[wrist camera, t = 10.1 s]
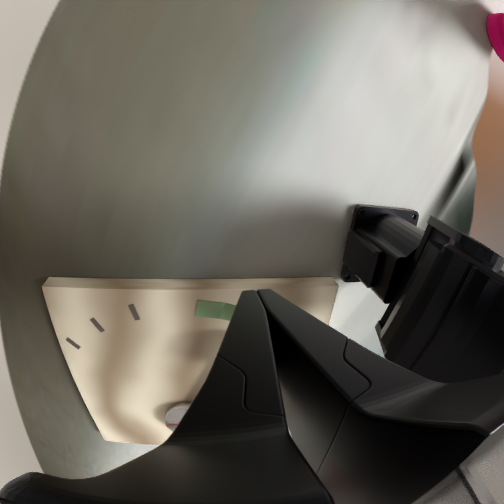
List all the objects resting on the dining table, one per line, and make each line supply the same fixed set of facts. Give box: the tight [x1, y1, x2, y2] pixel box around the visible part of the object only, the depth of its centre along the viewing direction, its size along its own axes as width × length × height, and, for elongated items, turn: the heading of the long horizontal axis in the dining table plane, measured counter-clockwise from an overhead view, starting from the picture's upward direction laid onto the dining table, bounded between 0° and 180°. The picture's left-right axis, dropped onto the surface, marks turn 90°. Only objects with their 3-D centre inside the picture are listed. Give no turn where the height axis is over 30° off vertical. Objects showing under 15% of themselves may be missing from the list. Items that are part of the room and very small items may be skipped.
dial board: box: [42, 277, 338, 445], centre depth 26 cm, size 23×22×2 cm
